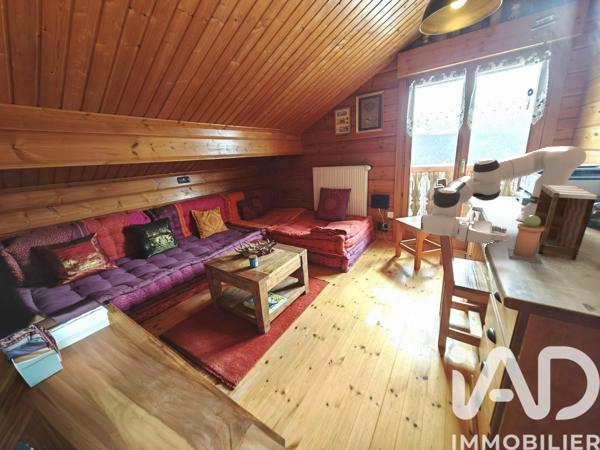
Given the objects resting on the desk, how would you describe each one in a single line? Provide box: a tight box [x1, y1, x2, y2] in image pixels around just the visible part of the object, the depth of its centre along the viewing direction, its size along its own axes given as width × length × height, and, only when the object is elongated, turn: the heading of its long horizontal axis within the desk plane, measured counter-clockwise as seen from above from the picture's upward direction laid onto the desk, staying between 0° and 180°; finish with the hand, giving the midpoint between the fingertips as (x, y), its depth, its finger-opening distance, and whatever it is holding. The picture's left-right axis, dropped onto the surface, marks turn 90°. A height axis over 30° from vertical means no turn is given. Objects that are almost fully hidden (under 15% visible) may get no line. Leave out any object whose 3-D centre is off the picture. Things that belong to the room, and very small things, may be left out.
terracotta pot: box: [513, 215, 545, 258], centre depth 86 cm, size 7×7×15 cm
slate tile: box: [507, 247, 542, 265], centre depth 88 cm, size 9×8×1 cm
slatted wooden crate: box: [534, 184, 598, 261], centre depth 93 cm, size 25×10×24 cm, turn 143°
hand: (506, 234), depth 89 cm, fingers open, 8 cm apart
